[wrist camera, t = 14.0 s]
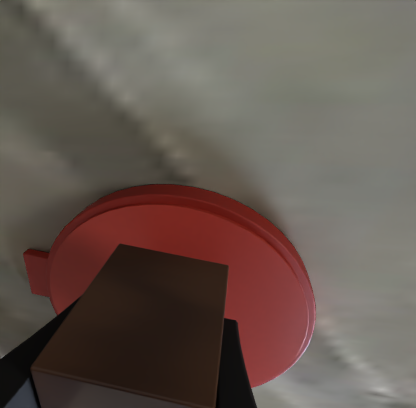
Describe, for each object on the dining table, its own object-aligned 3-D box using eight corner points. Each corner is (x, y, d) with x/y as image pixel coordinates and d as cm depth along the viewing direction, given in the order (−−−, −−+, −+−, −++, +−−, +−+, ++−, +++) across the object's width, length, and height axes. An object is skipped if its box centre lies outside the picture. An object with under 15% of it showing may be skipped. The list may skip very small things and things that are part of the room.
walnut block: (120, 317, 13) (52, 451, 8) (119, 242, 11) (27, 367, 6) (212, 337, 13) (192, 486, 8) (229, 264, 10) (215, 410, 6)
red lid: (356, 216, 12) (368, 234, 11) (272, 395, 19) (274, 418, 18) (8, 151, 13) (-18, 160, 12) (49, 345, 20) (36, 363, 19)
